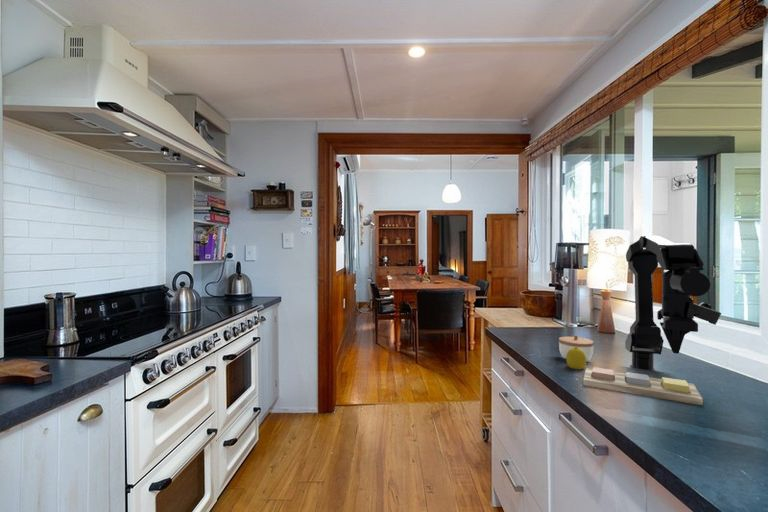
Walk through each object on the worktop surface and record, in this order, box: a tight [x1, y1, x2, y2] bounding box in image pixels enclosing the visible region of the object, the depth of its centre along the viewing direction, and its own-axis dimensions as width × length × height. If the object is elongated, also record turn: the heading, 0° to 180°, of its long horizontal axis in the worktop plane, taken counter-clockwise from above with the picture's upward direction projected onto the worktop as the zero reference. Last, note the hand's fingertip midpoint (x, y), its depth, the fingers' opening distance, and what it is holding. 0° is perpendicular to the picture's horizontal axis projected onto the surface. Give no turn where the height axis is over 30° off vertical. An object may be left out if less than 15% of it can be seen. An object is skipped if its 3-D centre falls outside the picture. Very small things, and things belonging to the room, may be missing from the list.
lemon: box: [565, 347, 587, 370], centre depth 116 cm, size 6×6×8 cm
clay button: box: [592, 366, 615, 381], centre depth 103 cm, size 5×5×3 cm
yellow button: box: [661, 376, 689, 393], centre depth 95 cm, size 5×5×3 cm
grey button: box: [625, 371, 650, 387], centre depth 99 cm, size 5×5×3 cm
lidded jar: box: [558, 334, 595, 362], centre depth 127 cm, size 11×11×9 cm
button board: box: [582, 367, 704, 406], centre depth 99 cm, size 12×25×3 cm, turn 58°
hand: (675, 352), depth 94 cm, fingers closed
